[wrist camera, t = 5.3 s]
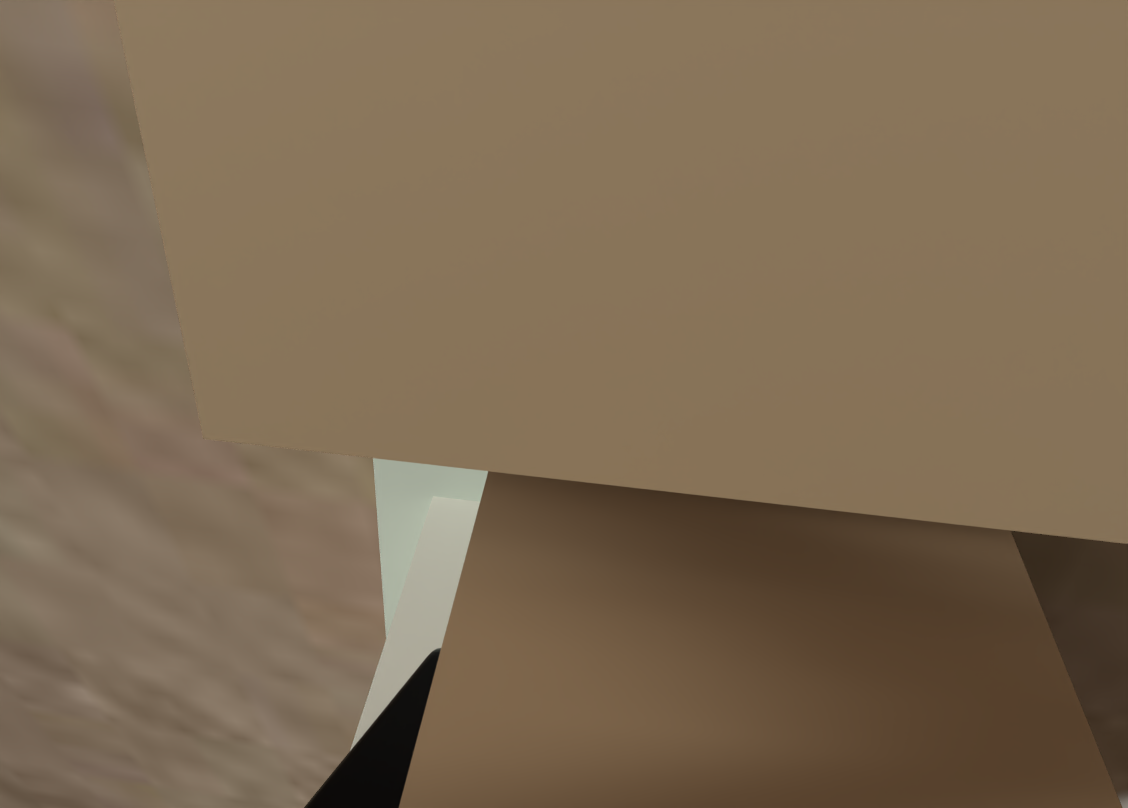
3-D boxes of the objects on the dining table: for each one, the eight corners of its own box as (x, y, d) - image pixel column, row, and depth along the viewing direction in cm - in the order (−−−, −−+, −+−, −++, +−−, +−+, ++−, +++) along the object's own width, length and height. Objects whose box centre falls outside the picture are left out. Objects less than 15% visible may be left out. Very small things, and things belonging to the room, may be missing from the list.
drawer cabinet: (1313, -394, 10) (2549, -636, 3) (868, 711, 20) (954, 1162, 14) (341, -460, 10) (-242, -783, 4) (404, 653, 21) (281, 1064, 14)
